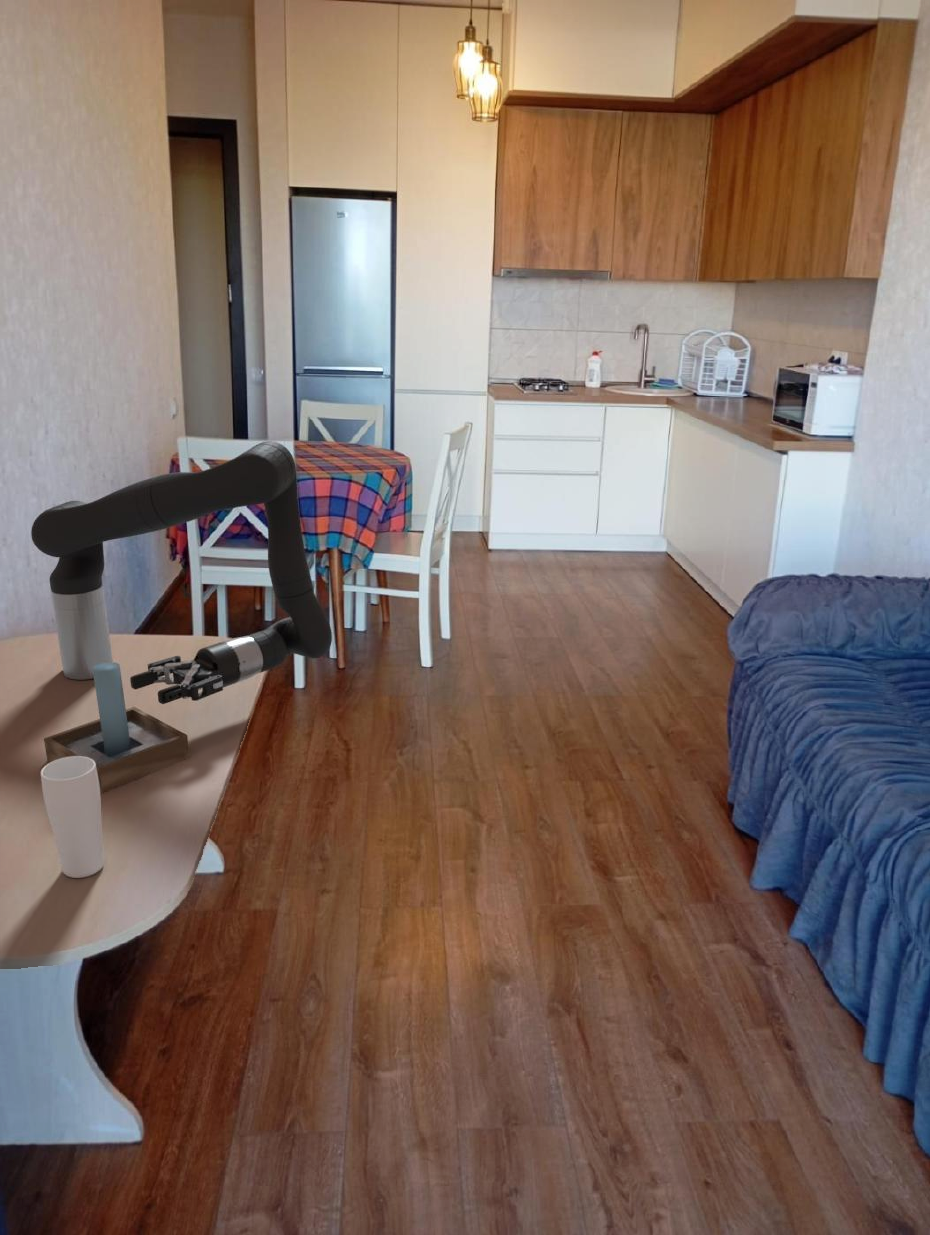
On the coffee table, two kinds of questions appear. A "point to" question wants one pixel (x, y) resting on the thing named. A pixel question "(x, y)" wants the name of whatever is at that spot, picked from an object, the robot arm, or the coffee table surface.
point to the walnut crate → (133, 763)
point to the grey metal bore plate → (139, 740)
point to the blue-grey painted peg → (111, 708)
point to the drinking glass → (75, 813)
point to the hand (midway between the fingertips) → (145, 690)
